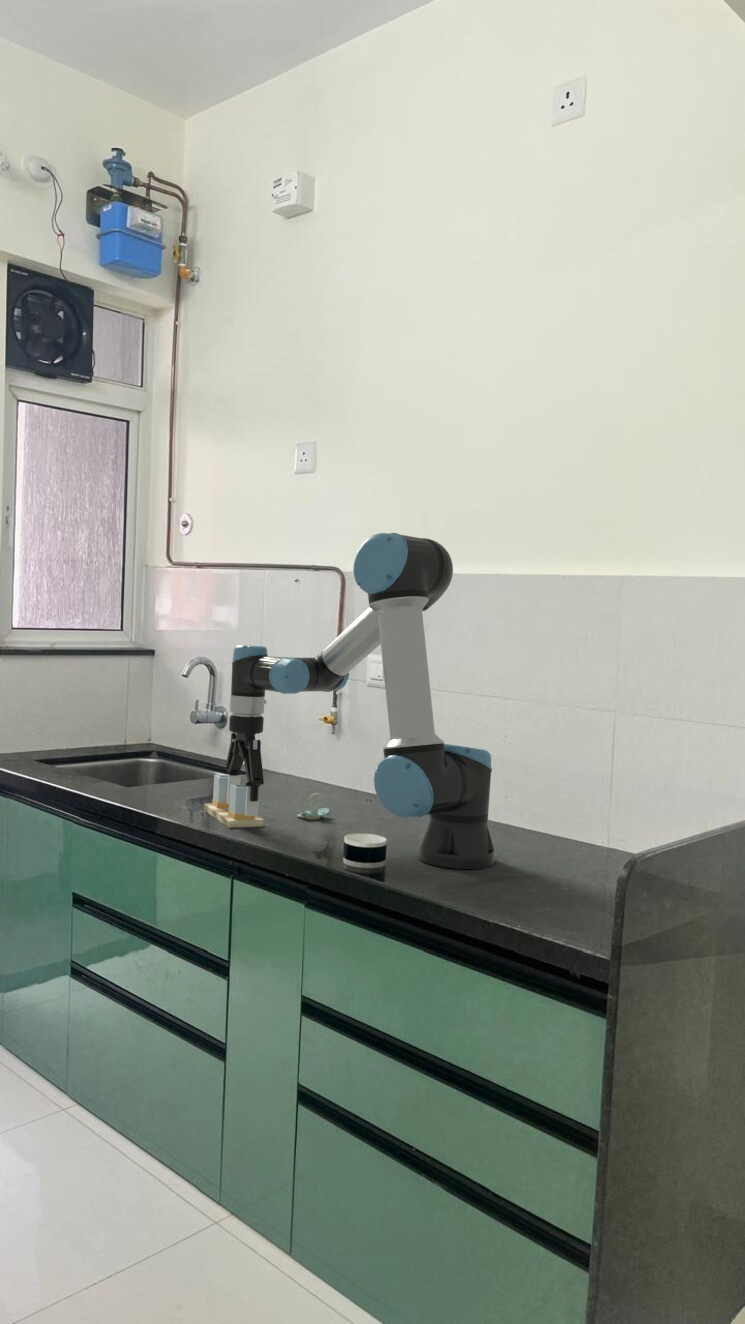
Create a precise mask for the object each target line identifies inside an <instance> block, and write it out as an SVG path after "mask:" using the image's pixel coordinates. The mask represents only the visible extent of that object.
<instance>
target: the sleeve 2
mask: <svg viewBox="0 0 745 1324" xmlns="http://www.w3.org/2000/svg"><path fill="white" fill-rule="evenodd" d="M245 784H246V783H244V784H241V783H240V784H230V801H229V810H228V816H230V817H231V818H232V819H234V820H238V819H255V816H245V805H246V786H245Z"/></svg>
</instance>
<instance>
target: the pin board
mask: <svg viewBox="0 0 745 1324" xmlns="http://www.w3.org/2000/svg"><path fill="white" fill-rule="evenodd" d="M204 810H205V811H204ZM228 810H229V808H217V807H215V806H214V805H212V802H211V803H203V811H204V812H206V813H208V814H209V815H210V816H212V817H213V818H214V819H215V820H217V821H218V822H220V823H221V824H222V823H223V824H222V825H224V826H225V827H227V828H228V829H231V828H233V829H234V828H259V827H264V821H265V819H264V818H262V817H260V816H259V815H258V816H255V819H238V820H234V819H232V818H231V817H230V816H228Z"/></svg>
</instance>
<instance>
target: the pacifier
mask: <svg viewBox="0 0 745 1324" xmlns="http://www.w3.org/2000/svg"><path fill="white" fill-rule="evenodd" d="M321 799H322V797H321V795H320V793H319V792H314V793H312V794H310V796H309V798H308V804H309V810H302V809H299V812H300V813H298V814H296V815H297V816H296V817H298V818H301V819H306V820H319V819H321V817H324V816H326V815H328V814H329V812H330V809H329V808H328V807H322V808H321V807H320V808H319V805H320V803H321Z"/></svg>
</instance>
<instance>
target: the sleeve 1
mask: <svg viewBox="0 0 745 1324" xmlns="http://www.w3.org/2000/svg"><path fill="white" fill-rule="evenodd" d="M212 790H213V792H212V795H213V796H212V799H211V803H212V805H214V806H215V807H217V808H229V804H227V790H228V774H214V775H213V789H212Z"/></svg>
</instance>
